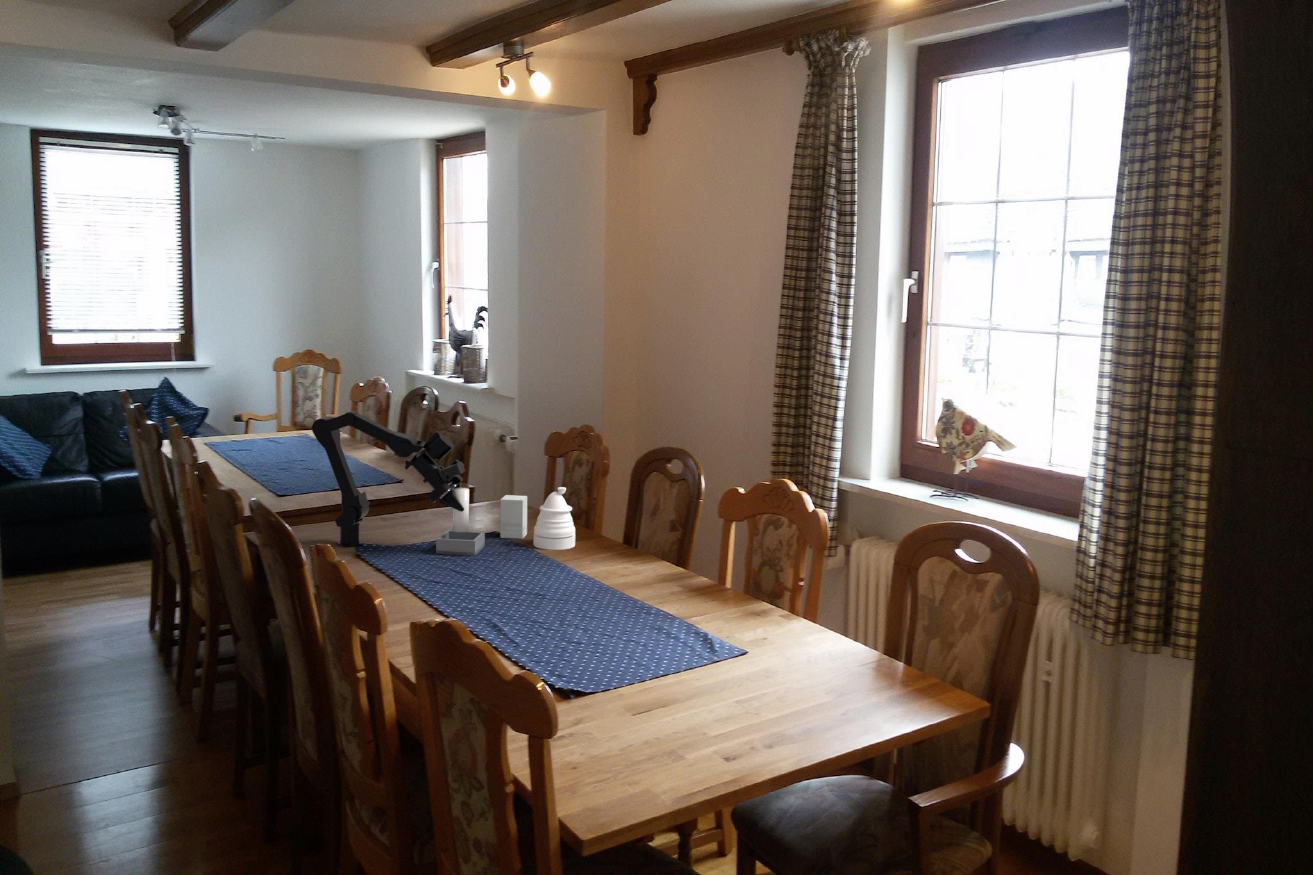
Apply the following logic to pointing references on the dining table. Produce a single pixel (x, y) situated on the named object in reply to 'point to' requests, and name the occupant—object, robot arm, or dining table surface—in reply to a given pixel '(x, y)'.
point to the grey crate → (460, 543)
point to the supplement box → (513, 517)
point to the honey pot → (554, 524)
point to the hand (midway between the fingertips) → (465, 509)
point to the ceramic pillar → (460, 517)
